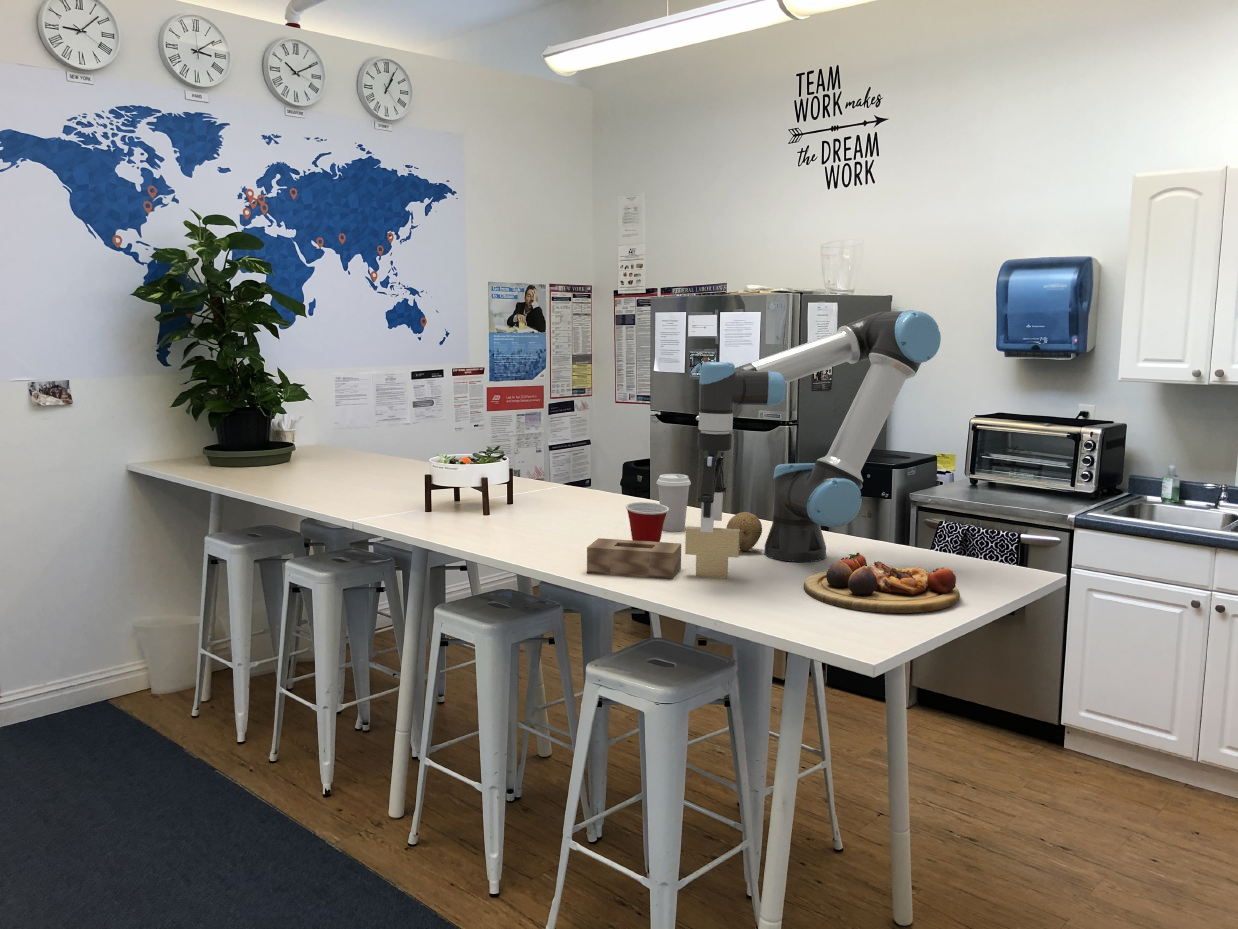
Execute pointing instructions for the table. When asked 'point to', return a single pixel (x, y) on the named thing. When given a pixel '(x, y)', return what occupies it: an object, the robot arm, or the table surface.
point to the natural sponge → (746, 529)
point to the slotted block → (634, 558)
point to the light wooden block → (712, 550)
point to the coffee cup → (674, 500)
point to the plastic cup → (646, 520)
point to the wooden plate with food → (883, 587)
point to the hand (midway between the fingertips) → (711, 526)
